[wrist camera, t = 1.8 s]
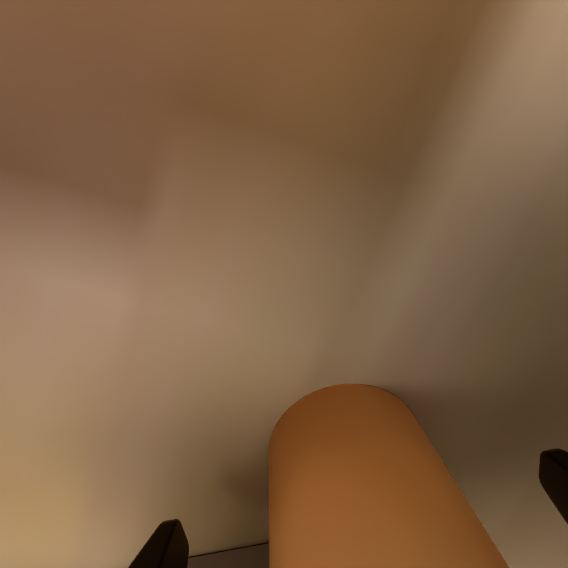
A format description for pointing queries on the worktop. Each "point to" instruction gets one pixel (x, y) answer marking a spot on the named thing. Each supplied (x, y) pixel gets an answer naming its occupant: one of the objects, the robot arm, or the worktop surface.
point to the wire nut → (366, 489)
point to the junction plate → (234, 558)
